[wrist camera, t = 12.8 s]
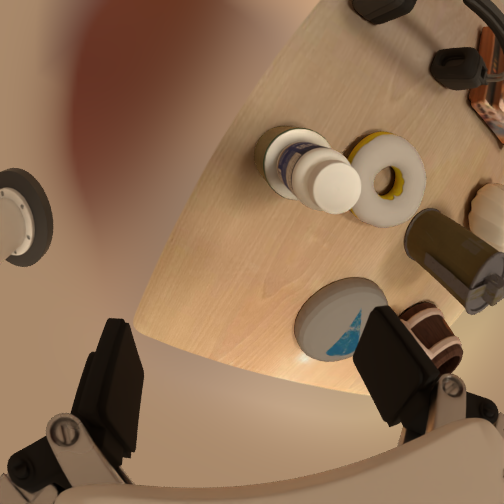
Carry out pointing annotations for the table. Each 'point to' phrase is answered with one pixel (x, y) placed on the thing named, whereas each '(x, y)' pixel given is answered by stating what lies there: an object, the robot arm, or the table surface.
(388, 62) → the table surface
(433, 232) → the canister
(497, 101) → the book
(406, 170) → the donut
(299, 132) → the tin can
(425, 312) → the mug
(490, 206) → the vase
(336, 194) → the pill bottle
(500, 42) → the headphones
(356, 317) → the frisbee
